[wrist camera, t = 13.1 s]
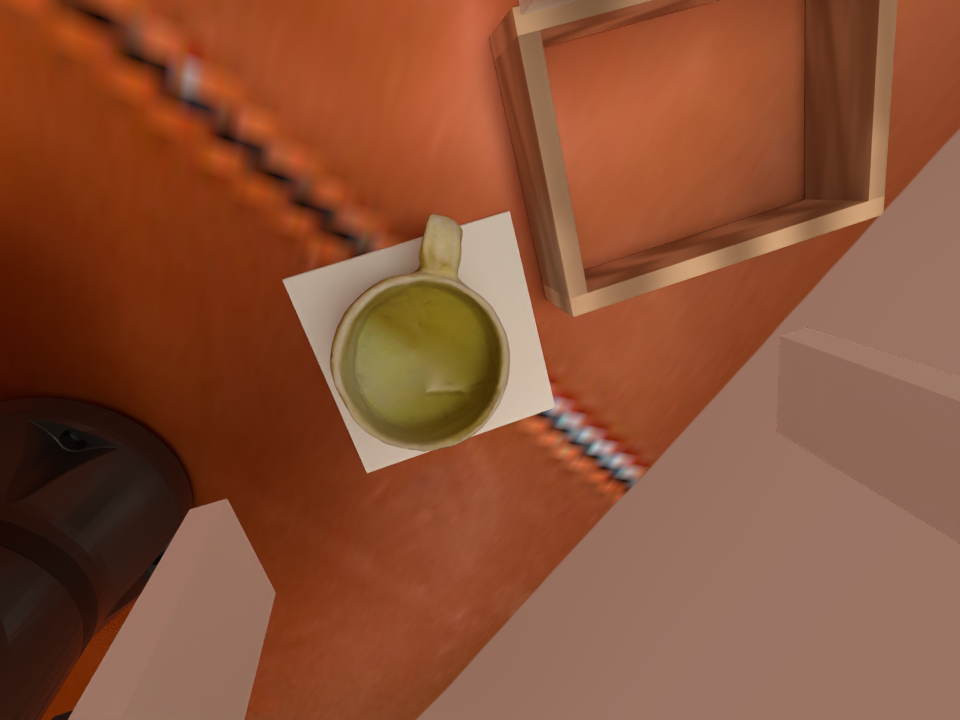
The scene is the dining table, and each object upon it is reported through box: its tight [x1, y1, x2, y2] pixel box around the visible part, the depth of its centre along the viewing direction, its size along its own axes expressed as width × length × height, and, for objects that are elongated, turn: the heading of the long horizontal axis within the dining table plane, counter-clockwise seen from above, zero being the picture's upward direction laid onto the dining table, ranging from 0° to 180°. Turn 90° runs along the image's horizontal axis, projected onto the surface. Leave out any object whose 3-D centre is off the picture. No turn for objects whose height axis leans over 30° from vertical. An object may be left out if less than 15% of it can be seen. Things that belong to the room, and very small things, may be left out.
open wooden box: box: [489, 0, 898, 317], centre depth 22 cm, size 22×17×22 cm
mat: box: [283, 211, 555, 473], centre depth 33 cm, size 15×15×1 cm
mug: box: [330, 214, 510, 452], centre depth 28 cm, size 12×10×10 cm
